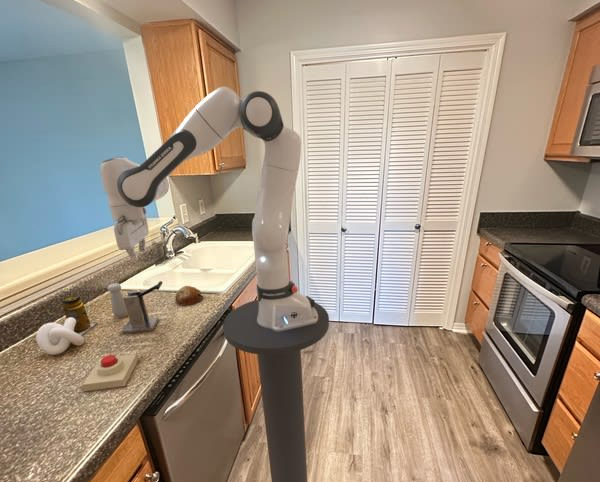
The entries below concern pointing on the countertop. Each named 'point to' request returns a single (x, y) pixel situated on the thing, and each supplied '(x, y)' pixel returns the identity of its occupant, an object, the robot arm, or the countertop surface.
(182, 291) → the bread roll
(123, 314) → the salt shaker
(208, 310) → the countertop surface
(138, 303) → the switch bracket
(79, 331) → the condiment
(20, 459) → the countertop surface
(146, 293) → the switch
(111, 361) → the button
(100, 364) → the button block
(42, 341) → the white knot
